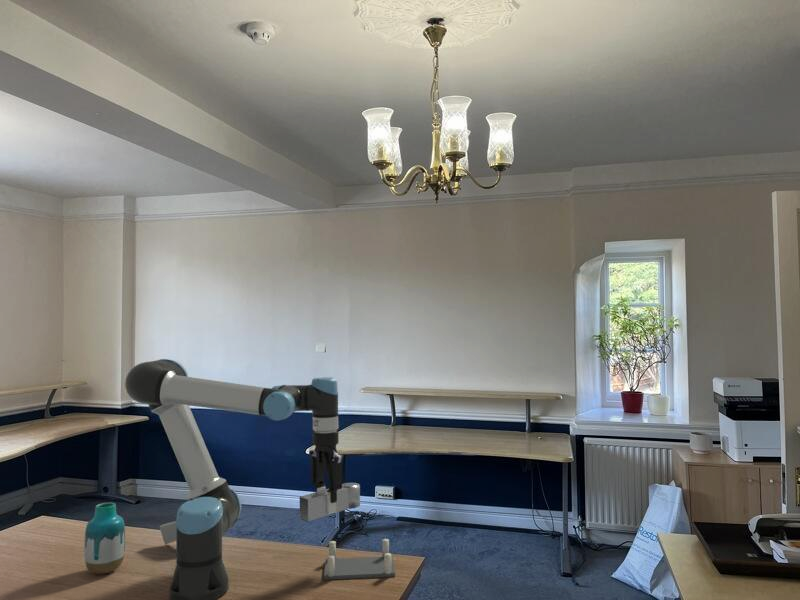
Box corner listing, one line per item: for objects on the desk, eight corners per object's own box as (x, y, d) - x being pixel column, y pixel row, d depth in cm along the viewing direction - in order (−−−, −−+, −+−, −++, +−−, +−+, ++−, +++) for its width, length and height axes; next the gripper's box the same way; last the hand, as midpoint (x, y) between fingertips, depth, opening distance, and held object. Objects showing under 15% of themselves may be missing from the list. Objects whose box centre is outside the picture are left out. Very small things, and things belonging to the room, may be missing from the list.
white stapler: (167, 556, 186) (204, 543, 182) (158, 526, 188) (194, 512, 184) (175, 552, 190) (211, 538, 186) (166, 522, 192) (202, 508, 188)
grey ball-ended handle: (310, 522, 161) (310, 500, 162) (297, 517, 166) (297, 496, 166) (364, 505, 176) (363, 485, 176) (351, 501, 180) (351, 481, 180)
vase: (132, 566, 173) (133, 500, 174) (106, 581, 163) (106, 512, 164) (103, 562, 176) (104, 498, 177) (75, 577, 166) (76, 509, 166)
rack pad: (323, 580, 162) (323, 558, 162) (325, 561, 175) (325, 541, 175) (395, 577, 164) (395, 555, 164) (392, 558, 177) (391, 538, 177)
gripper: (297, 429, 174) (298, 508, 173) (333, 436, 162) (335, 521, 161) (318, 425, 179) (319, 502, 178) (354, 432, 167) (355, 514, 166)
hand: (326, 511), depth 169 cm, fingers closed on grey ball-ended handle, 4 cm apart
